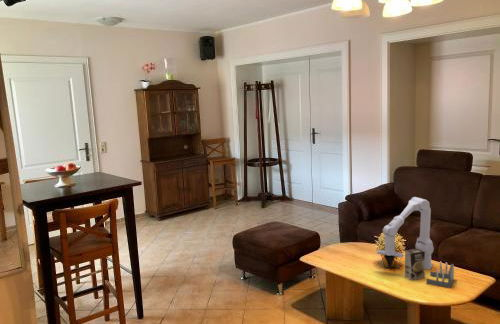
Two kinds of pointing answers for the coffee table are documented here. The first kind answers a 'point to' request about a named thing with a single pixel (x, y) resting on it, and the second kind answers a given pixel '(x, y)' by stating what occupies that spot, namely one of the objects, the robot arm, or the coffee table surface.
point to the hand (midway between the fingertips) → (390, 267)
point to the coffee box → (414, 264)
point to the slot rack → (442, 275)
